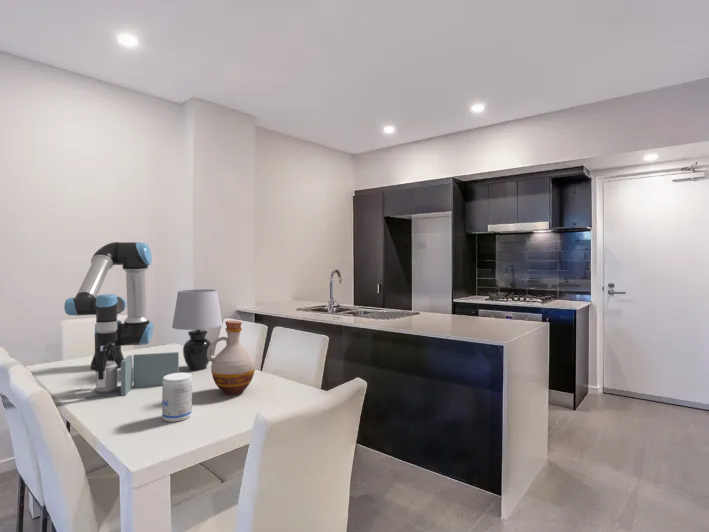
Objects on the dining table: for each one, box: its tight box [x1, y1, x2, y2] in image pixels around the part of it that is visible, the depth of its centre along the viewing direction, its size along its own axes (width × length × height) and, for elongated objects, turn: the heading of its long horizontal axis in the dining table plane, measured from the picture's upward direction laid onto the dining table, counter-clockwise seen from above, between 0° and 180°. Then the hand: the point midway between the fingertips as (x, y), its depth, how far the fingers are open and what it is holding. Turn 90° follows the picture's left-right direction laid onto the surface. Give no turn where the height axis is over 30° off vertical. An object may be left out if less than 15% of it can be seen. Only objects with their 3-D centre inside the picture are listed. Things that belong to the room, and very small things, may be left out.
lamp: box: [172, 288, 223, 372], centre depth 206 cm, size 24×24×40 cm
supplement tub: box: [161, 372, 193, 423], centre depth 141 cm, size 10×10×15 cm
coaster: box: [84, 385, 121, 399], centre depth 168 cm, size 12×12×1 cm
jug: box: [207, 320, 256, 396], centre depth 169 cm, size 20×18×30 cm
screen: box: [120, 351, 180, 397], centre depth 172 cm, size 13×20×14 cm, turn 106°
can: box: [95, 361, 118, 393], centre depth 168 cm, size 8×8×12 cm
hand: (106, 382), depth 168 cm, fingers open, 13 cm apart
